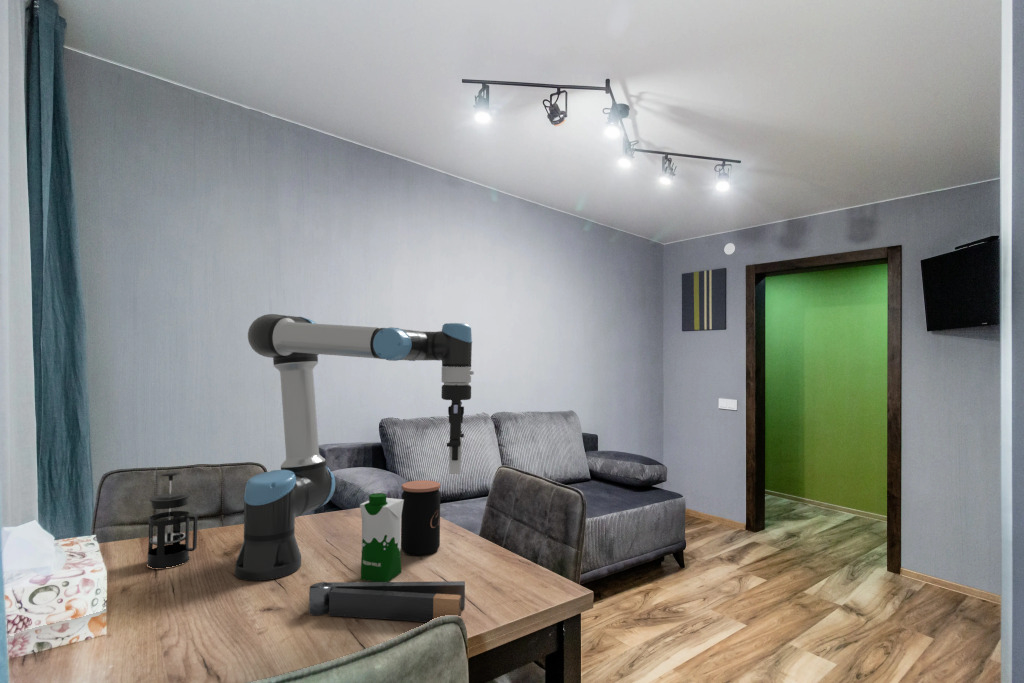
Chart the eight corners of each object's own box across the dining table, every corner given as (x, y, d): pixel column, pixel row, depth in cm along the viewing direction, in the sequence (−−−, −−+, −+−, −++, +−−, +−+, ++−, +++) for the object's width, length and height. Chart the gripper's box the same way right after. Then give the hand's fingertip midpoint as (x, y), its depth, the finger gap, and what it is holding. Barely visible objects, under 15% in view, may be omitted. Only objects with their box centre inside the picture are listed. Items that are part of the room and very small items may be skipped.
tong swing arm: (328, 615, 110) (329, 591, 110) (333, 611, 112) (333, 587, 112) (458, 624, 107) (458, 599, 107) (461, 619, 109) (461, 595, 109)
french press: (135, 570, 133) (138, 477, 134) (154, 557, 142) (157, 469, 143) (187, 568, 135) (189, 475, 136) (202, 554, 144) (204, 468, 145)
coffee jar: (436, 557, 144) (437, 489, 144) (396, 556, 144) (397, 488, 144) (442, 543, 154) (443, 480, 155) (405, 543, 154) (406, 480, 155)
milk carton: (354, 580, 128) (356, 495, 129) (376, 567, 136) (377, 487, 137) (387, 586, 125) (388, 499, 126) (406, 571, 134) (407, 490, 134)
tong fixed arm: (306, 615, 110) (306, 591, 110) (313, 606, 115) (313, 582, 115) (463, 614, 111) (464, 589, 112) (464, 604, 116) (465, 580, 116)
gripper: (471, 386, 125) (470, 478, 124) (471, 382, 150) (470, 458, 149) (438, 386, 125) (437, 478, 124) (443, 382, 149) (443, 459, 149)
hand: (455, 468), depth 137 cm, fingers open, 13 cm apart
